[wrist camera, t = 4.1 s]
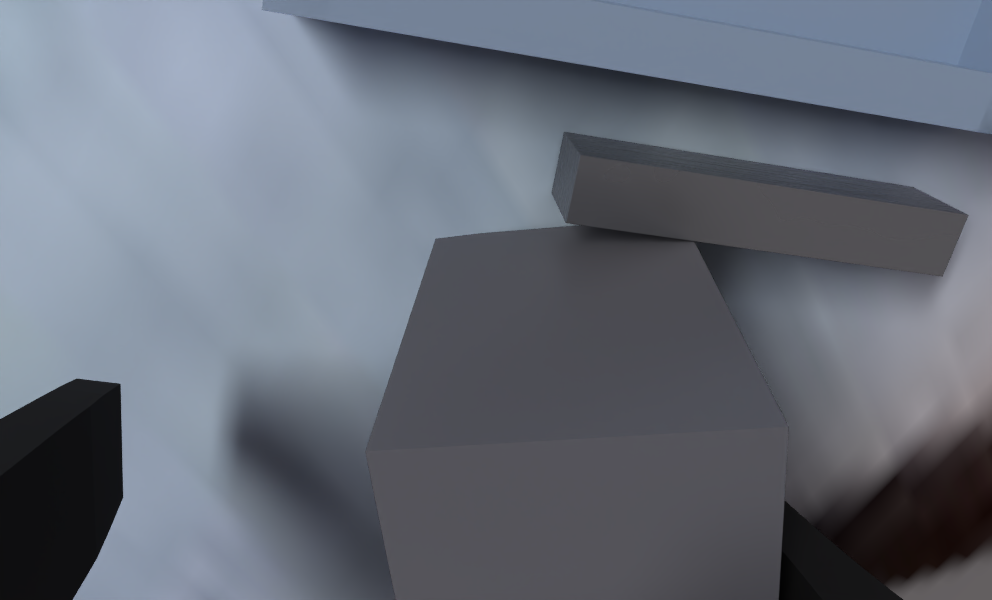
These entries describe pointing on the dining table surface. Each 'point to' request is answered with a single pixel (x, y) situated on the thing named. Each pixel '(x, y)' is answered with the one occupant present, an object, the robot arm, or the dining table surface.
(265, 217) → the dining table surface
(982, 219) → the dining table surface
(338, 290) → the dining table surface
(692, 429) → the grey bar
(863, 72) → the tray
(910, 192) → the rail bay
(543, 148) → the dining table surface
